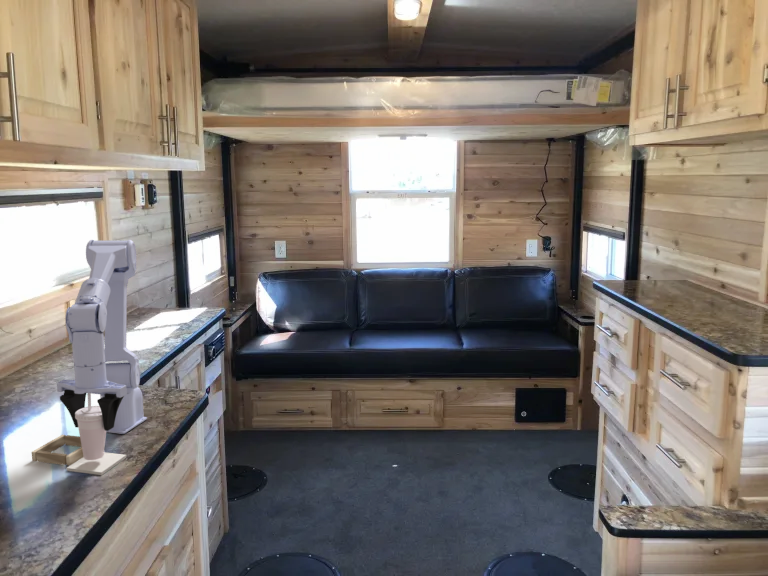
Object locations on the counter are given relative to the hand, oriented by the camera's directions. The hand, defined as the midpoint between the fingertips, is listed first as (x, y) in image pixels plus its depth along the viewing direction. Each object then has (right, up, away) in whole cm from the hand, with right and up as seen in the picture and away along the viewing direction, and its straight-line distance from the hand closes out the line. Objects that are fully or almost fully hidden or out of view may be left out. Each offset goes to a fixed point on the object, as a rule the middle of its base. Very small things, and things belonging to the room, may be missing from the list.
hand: (94, 427), depth 126 cm
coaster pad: (0, -8, +1) cm, 8 cm away
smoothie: (0, -6, +1) cm, 6 cm away
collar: (-9, -7, +6) cm, 13 cm away
